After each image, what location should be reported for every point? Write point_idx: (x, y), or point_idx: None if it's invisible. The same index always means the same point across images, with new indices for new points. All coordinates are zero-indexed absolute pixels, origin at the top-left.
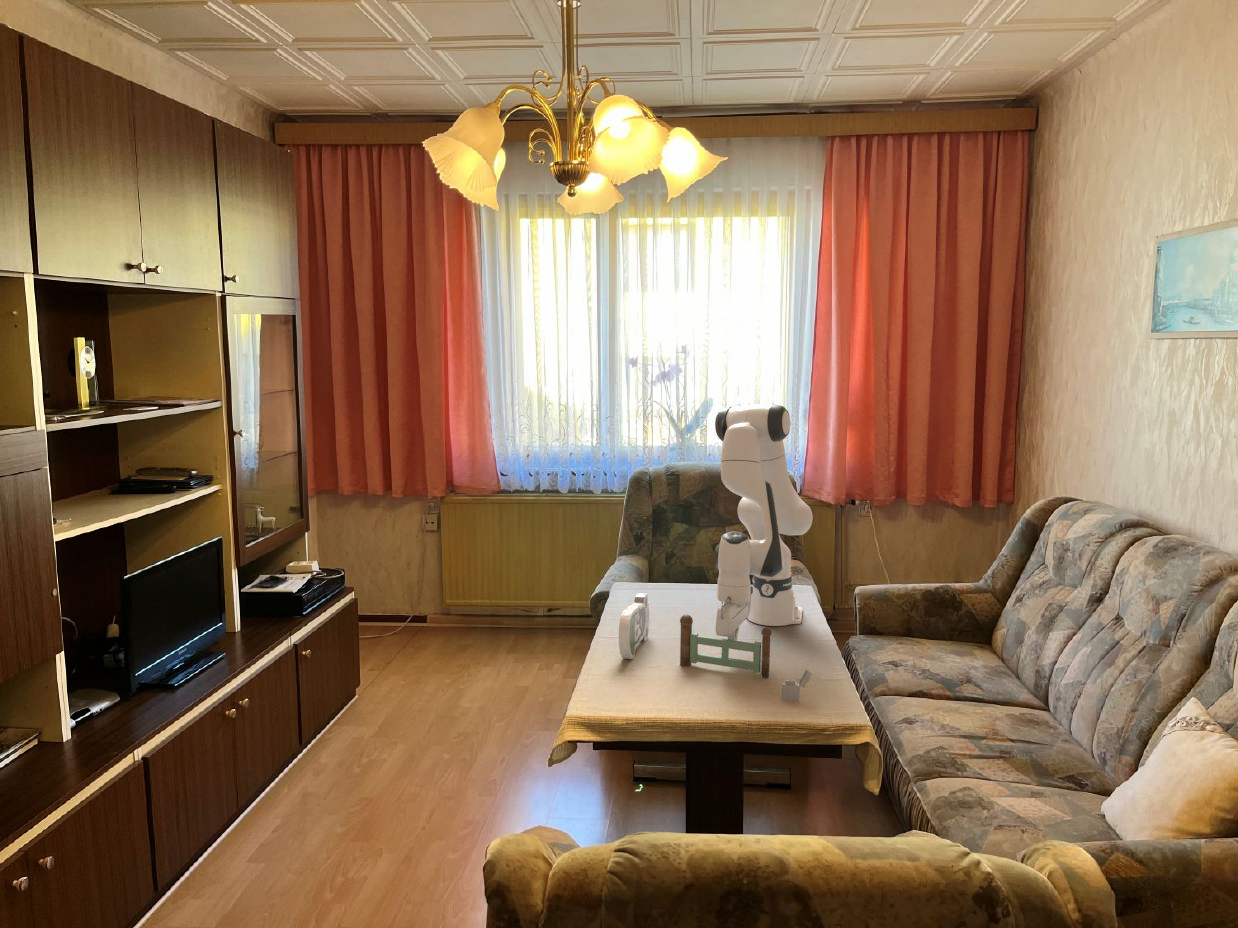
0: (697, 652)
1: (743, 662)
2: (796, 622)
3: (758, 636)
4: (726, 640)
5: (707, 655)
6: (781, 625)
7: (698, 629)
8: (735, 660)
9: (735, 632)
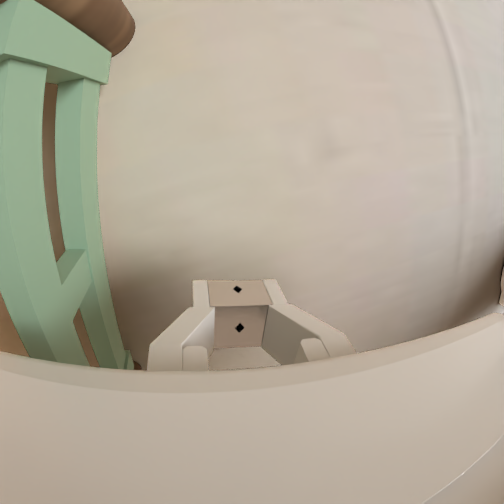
0: (83, 77)
1: (93, 345)
2: (501, 300)
3: (472, 250)
4: (32, 350)
5: (66, 154)
6: (501, 279)
7: (495, 71)
8: (83, 317)
9: (281, 350)
